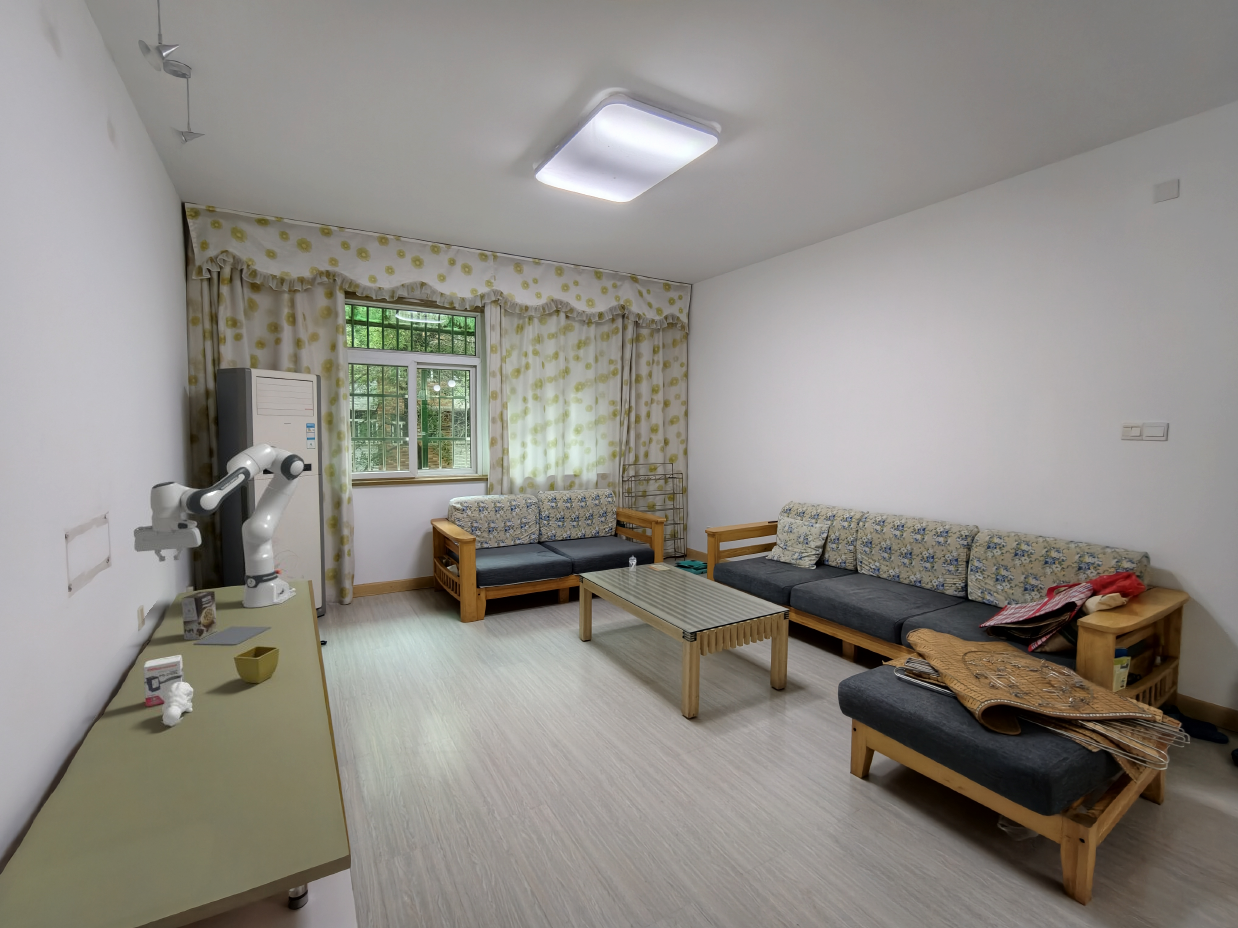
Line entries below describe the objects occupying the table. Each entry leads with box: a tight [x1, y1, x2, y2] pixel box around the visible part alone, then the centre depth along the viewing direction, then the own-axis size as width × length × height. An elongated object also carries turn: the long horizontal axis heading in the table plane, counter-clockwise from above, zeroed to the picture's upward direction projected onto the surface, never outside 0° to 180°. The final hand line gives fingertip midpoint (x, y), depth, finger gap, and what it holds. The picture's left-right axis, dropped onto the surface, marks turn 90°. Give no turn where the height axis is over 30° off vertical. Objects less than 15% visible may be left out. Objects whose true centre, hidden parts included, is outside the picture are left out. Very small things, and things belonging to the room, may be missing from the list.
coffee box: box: [181, 590, 218, 641], centre depth 217 cm, size 9×6×16 cm
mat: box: [193, 625, 272, 646], centre depth 216 cm, size 18×17×1 cm
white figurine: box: [160, 681, 194, 727], centre depth 153 cm, size 6×8×12 cm
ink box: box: [142, 654, 185, 707], centre depth 164 cm, size 8×5×12 cm, turn 123°
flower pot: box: [233, 645, 280, 684], centre depth 176 cm, size 9×9×9 cm
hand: (169, 560), depth 216 cm, fingers open, 3 cm apart
